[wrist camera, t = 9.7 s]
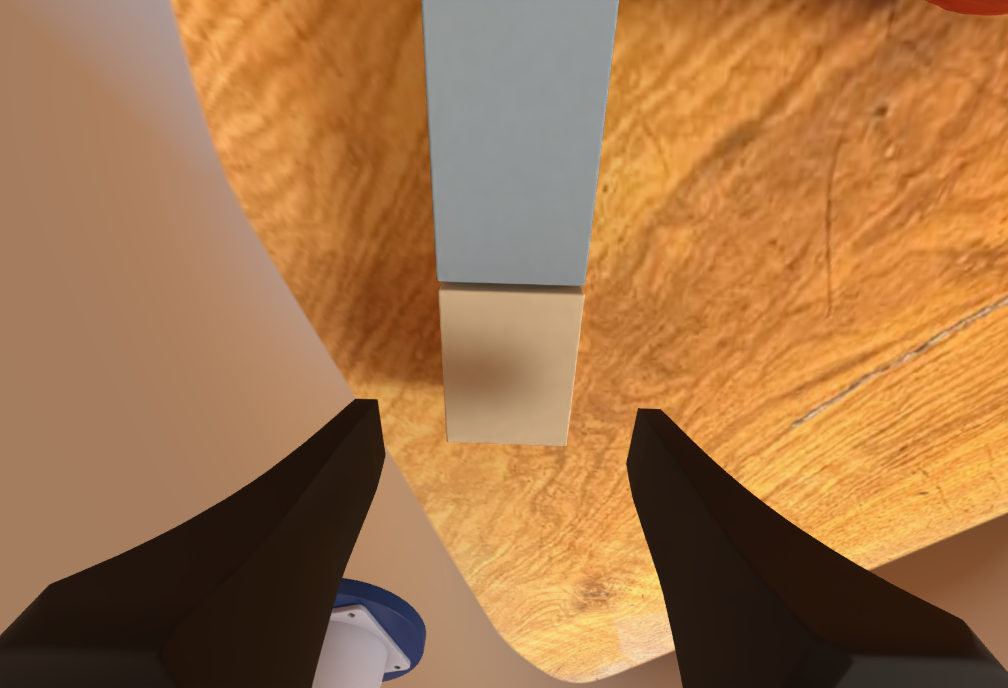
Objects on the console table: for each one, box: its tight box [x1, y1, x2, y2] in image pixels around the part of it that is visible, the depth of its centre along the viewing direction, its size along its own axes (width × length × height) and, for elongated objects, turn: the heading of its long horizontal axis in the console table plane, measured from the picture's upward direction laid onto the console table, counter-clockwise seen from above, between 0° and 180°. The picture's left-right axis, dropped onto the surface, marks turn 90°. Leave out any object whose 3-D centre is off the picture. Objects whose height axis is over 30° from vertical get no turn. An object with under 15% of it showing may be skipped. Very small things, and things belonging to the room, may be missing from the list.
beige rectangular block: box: [438, 282, 585, 446], centre depth 16 cm, size 6×4×4 cm
